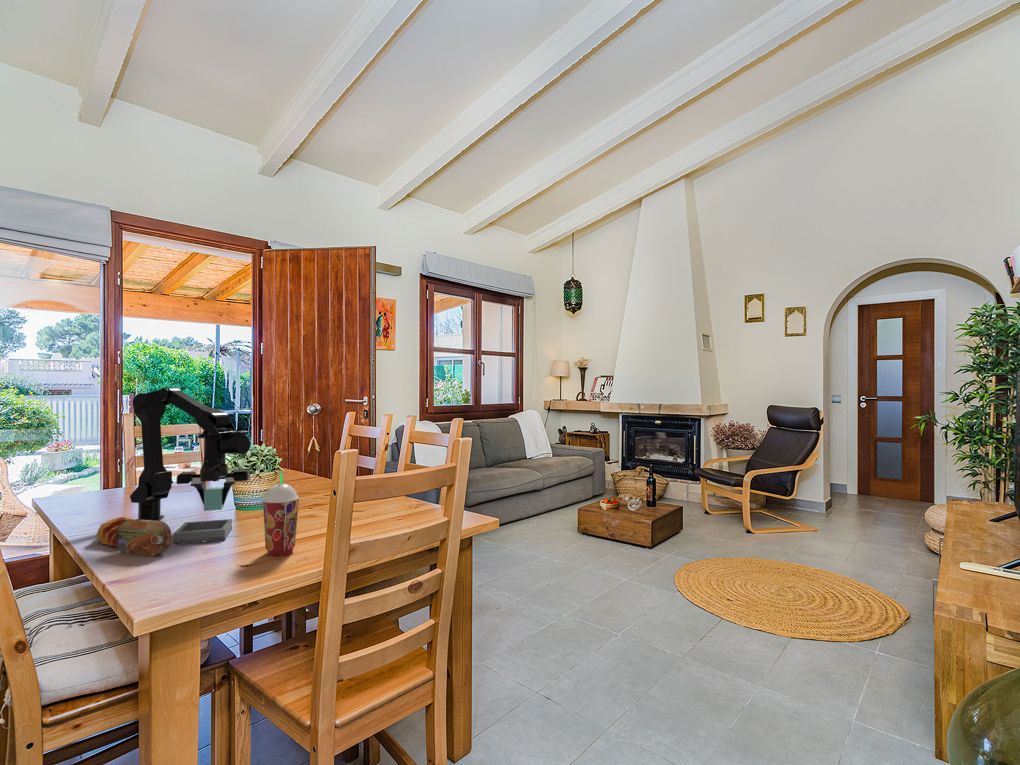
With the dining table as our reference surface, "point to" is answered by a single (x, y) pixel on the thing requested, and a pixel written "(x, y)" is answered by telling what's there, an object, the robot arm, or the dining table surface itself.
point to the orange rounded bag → (143, 537)
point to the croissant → (110, 530)
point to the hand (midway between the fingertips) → (214, 505)
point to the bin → (202, 531)
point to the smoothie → (280, 518)
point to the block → (213, 498)
